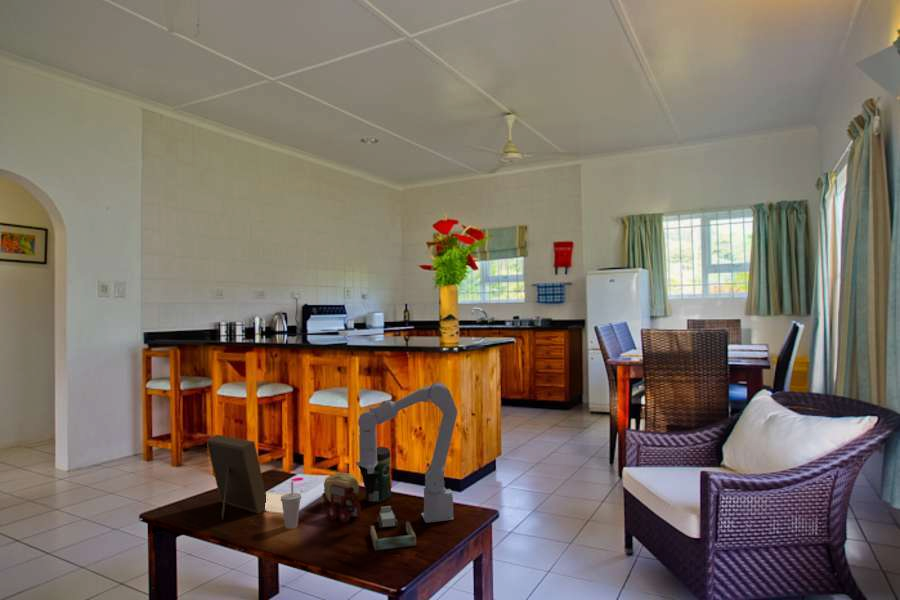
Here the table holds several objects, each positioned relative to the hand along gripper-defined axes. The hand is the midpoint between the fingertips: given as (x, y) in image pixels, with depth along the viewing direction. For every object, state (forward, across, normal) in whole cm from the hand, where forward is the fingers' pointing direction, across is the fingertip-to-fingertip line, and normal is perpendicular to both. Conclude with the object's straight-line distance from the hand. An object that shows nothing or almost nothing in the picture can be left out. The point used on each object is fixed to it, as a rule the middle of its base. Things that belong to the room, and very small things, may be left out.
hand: (368, 489), depth 175 cm
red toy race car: (+10, -5, -8) cm, 14 cm away
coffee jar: (+10, -20, +6) cm, 23 cm away
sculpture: (+10, -20, -8) cm, 23 cm away
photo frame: (+10, -23, -46) cm, 52 cm away
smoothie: (+10, -2, -25) cm, 27 cm away
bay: (+10, +17, +5) cm, 21 cm away
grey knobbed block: (+10, +5, +5) cm, 12 cm away
